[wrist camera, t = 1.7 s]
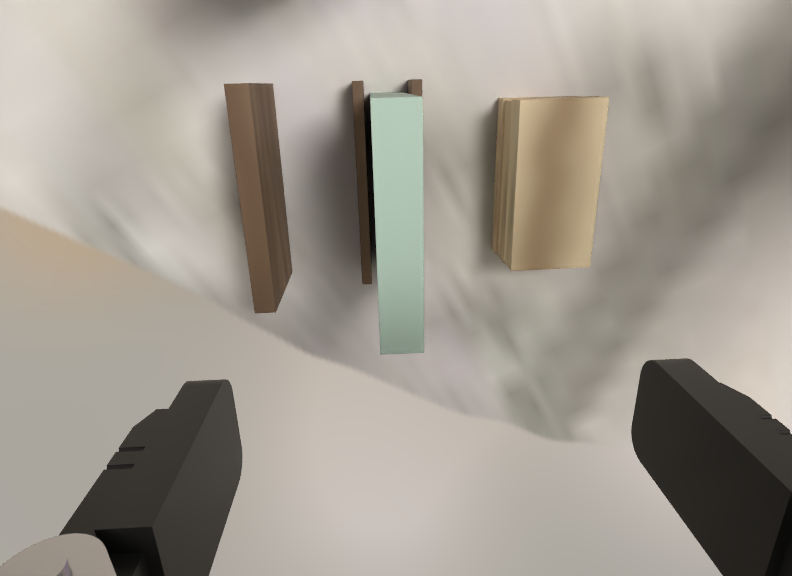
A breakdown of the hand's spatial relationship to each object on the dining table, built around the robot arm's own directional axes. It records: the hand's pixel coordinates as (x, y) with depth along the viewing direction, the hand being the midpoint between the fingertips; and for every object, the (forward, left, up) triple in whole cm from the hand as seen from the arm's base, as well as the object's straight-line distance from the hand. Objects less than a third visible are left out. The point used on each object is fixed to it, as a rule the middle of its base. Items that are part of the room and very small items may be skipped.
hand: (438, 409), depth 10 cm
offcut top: (-10, 0, -23) cm, 25 cm away
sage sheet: (0, 0, -26) cm, 26 cm away
